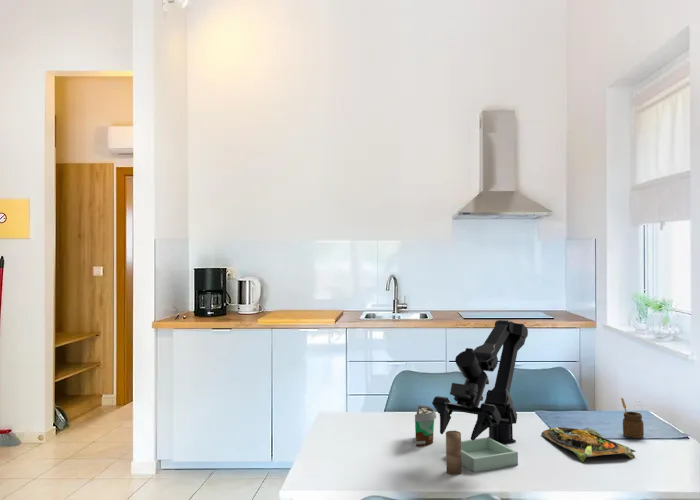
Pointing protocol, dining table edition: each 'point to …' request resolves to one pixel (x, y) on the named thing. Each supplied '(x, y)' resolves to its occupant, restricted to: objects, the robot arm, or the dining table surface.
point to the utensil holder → (632, 423)
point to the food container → (424, 425)
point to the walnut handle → (453, 453)
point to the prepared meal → (585, 442)
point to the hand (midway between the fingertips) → (456, 436)
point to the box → (487, 454)
